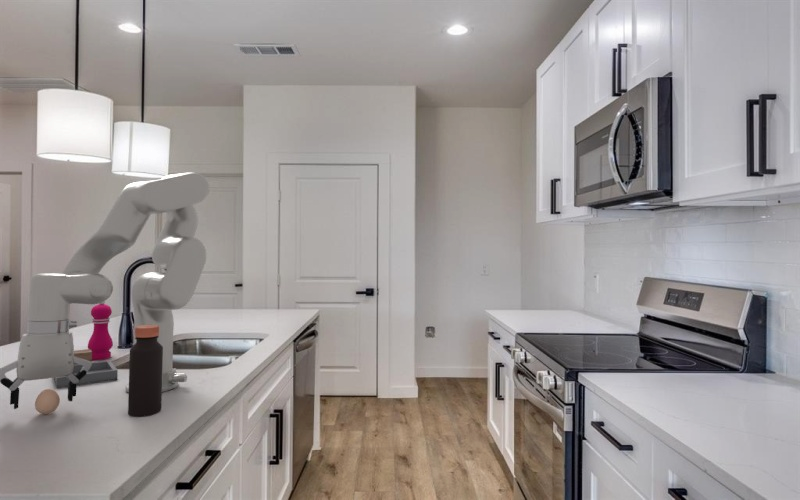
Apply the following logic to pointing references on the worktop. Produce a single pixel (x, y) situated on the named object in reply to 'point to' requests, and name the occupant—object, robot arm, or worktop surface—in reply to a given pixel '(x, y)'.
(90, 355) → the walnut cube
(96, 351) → the pepper mill
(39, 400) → the egg
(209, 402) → the worktop surface
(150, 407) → the bottle
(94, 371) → the dish
